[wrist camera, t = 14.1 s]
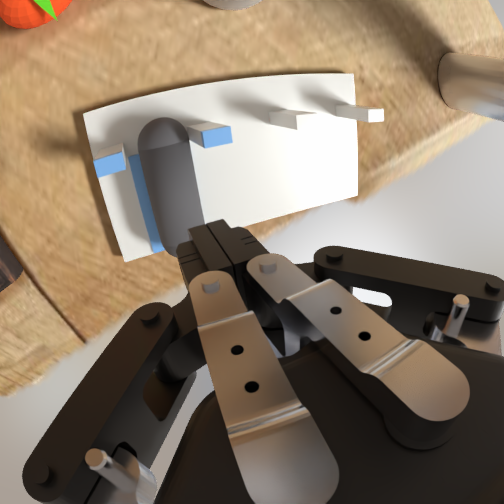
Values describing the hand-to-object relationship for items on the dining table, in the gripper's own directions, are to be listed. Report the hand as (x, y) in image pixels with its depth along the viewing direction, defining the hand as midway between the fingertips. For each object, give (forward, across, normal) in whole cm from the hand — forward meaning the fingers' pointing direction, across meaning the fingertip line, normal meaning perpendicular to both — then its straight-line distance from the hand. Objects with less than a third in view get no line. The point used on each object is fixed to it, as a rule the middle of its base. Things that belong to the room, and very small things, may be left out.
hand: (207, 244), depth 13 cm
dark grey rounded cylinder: (+15, 0, +1) cm, 15 cm away
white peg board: (+16, -7, 0) cm, 18 cm away
